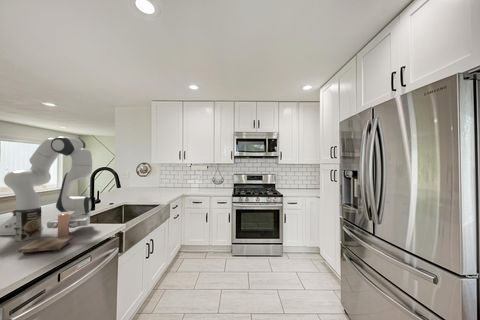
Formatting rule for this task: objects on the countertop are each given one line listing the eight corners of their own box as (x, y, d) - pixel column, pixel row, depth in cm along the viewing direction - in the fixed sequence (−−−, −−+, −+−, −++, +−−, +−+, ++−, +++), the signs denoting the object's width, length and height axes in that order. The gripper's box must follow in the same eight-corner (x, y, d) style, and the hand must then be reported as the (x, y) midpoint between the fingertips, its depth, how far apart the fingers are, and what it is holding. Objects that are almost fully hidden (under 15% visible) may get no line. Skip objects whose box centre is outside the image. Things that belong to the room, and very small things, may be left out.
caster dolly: (18, 257, 99) (18, 249, 99) (37, 245, 113) (37, 239, 113) (59, 253, 104) (59, 245, 104) (73, 242, 117) (73, 236, 117)
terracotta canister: (55, 241, 120) (55, 216, 120) (60, 238, 124) (60, 213, 125) (66, 240, 121) (66, 215, 121) (70, 237, 126) (70, 213, 126)
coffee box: (21, 241, 119) (22, 212, 119) (14, 240, 121) (15, 211, 121) (41, 236, 127) (41, 209, 127) (35, 235, 129) (35, 208, 130)
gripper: (54, 216, 132) (40, 222, 119) (92, 214, 138) (83, 219, 125) (54, 226, 132) (40, 233, 119) (92, 223, 138) (83, 230, 125)
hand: (62, 226), depth 122 cm, fingers open, 6 cm apart
